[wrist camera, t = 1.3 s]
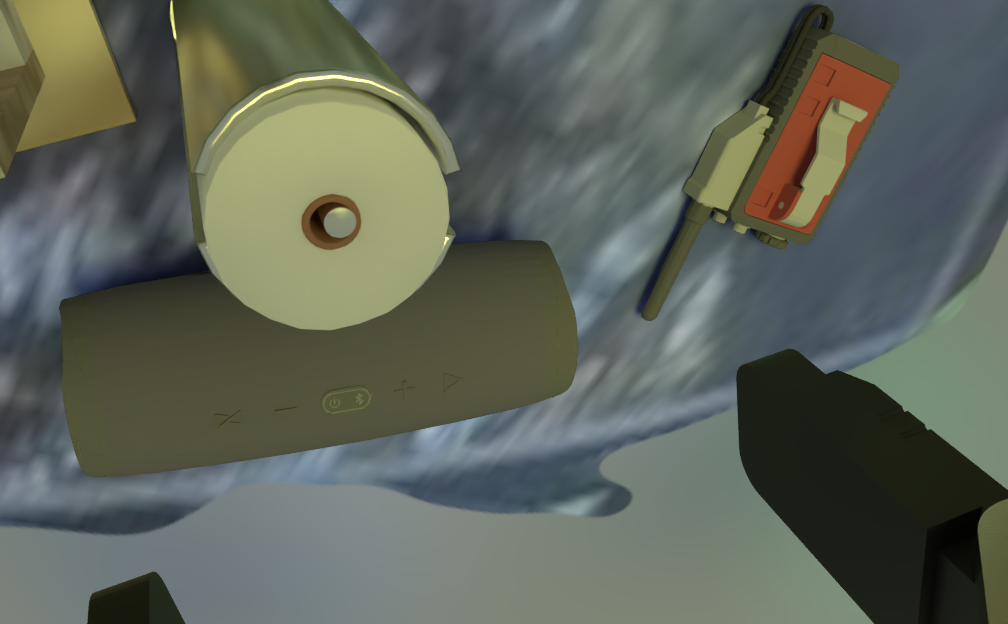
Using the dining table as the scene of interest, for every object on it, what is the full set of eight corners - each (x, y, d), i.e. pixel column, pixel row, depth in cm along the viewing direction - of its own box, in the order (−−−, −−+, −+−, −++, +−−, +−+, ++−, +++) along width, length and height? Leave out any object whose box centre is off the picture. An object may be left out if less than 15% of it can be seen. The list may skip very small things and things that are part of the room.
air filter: (273, 114, 44) (383, 385, 23) (142, 40, 41) (134, 279, 20) (344, -5, 43) (528, 171, 22) (214, -91, 39) (285, 19, 19)
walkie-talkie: (774, -16, 50) (621, 306, 57) (824, -2, 46) (655, 340, 53) (886, 38, 54) (731, 333, 60) (940, 55, 50) (768, 367, 57)
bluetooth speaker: (102, 410, 48) (92, 535, 40) (65, 248, 44) (45, 351, 36) (512, 346, 55) (577, 442, 47) (515, 199, 51) (587, 276, 42)
